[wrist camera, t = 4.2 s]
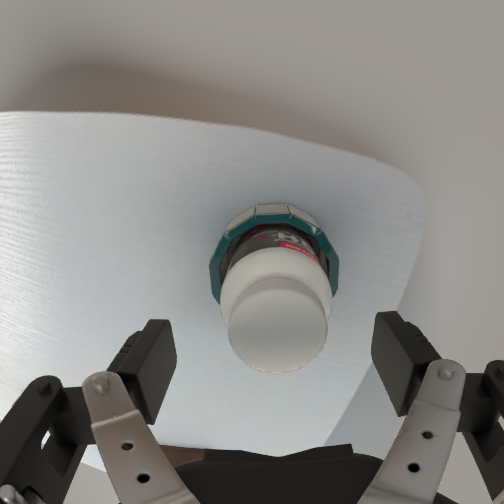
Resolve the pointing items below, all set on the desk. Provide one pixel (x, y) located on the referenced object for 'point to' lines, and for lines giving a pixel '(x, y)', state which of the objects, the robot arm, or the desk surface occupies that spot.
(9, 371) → the desk surface
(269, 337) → the pill bottle
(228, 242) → the teal ring
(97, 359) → the desk surface
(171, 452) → the holder
